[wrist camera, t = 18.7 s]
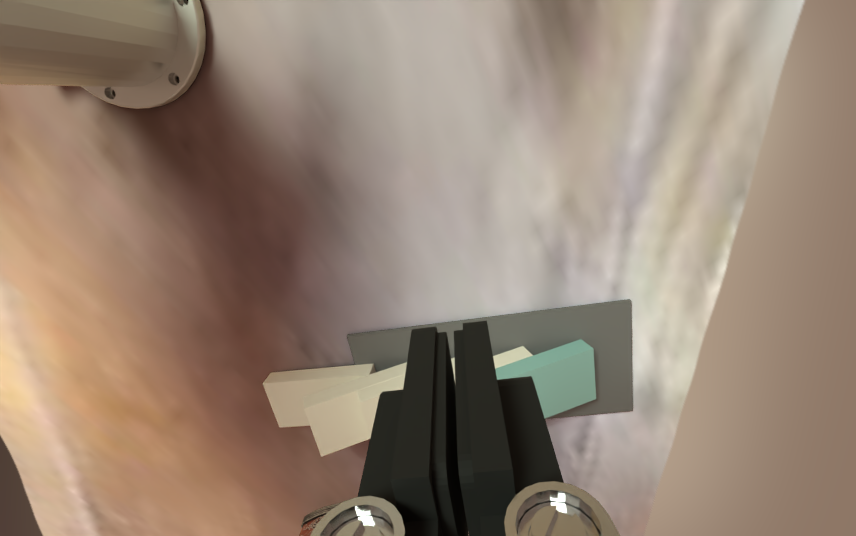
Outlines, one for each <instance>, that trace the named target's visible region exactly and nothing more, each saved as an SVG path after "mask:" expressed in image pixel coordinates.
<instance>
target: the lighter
mask: <svg viewBox="0 0 856 536" xmlns="http://www.w3.org/2000/svg"><path fill="white" fill-rule="evenodd" d="M339 504H341V503H338V504H334V505H330V506H326V507H324V508H321V509H318V510H316V511H314V512H312V513H310V514H308V515H306V516H305V517H304V520H303V523H302V525H301V527H302V530H301V533H300V535H299V536H310V535H311V533H312V532H313V530H314V528H315V527H316V525H317V523H318V522H319V521H320V520H321V519H322V518H323V517H324V516H325V515H326V514H327V513H328V512H329V511H330V510H331V509H333V508H334V507H336V506H337V505H339Z"/></svg>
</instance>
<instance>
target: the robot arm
mask: <svg viewBox="0 0 856 536" xmlns="http://www.w3.org/2000/svg"><path fill="white" fill-rule="evenodd" d="M188 1H189V2H188V3H187V0H0V84H6V85H51V86H81V87H82V88H84V89H85V90H86V91H88V92H89V93H90V94H92V95H94V96H96V97H98V98H100V99H101V100H103V101H105V102H108V103H111V104H114V105H117V106H120V107H126V108H135V109H141V108H153V107H158V106H163V105H165V104H168V103H170V102H172V101H174V100H176V99H177V98H178V97H180V96H181V95H182V94H183V93H184V92H186V91H187V90H188V88H189V87H190V86H191V84H192V83H193V82H194V80H195V79H196V76H197V74H198V72H199V70H200V68H201V65H202V61H203V57H204V52H205V40H206V29H205V21H204V13H203V10H202V6H201V3H200V0H188ZM178 78H179V79H178ZM179 80H180V82H179ZM454 357H455V379H454V373H453V367H452V361H451V355H450V349H449V343H448V337H447V332H439V333H438V331H437V327H436V326H435V327H427V328H418V329H412V331H411V337H410V344H409V351H408V358H407V365H406V372H405V380H404V387H403V390H393V391H384V392H382V393H381V394H380V397H379V400H378V405H377V410H376V414H375V419H374V424H373V428H372V433H371V438H370V442H369V447H368V452H367V456H366V461H365V465H364V470H363V475H362V479H361V484H360V489H359V493H358V497H356V498H353V499H350V500H347V501H344V502H342V503H341V504H339V505H337V506H336V507H334V508H333V509H331V510H330V511H329V512H328V513H327V514H326V515H325V516H324V517H323V518H322V519H321V520H320V521H319V522H318V523H317V525H316V527H315V528H314V530H313V532H312V533H311V535H310V536H468V531H469V536H620V535H619V533H618V531H617V529H616V527H615V525H614V524H613V522H612V520H611V518H610V516H609V515H608V513H607V512H606V511H605V509H604V508H603V507H602V505H601V504H600V503H599V501H597V500H596V499H595V498H593V497H592V496H591V495H590V494H588V493H587V492H586V491H584V490H582V489H580V488H578V487H575V486H573V485H571V484H567V483H564V482H563V479H562V475H561V472H560V469H559V465H558V462H557V459H556V455H555V452H554V448H553V445H552V442H551V438H550V435H549V432H548V428H547V425H546V421H545V418H544V415H543V411H542V408H541V405H540V401H539V398H538V395H537V391H536V388H535V384H534V381H533V379H532V377H531V376H528V377H518V378H509V379H499V380H497V376H496V370H495V365H494V359H493V353H492V347H491V342H490V336H489V330H488V324H487V320H486V321H478V322H469V323H463V330H457V331H454Z"/></svg>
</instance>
